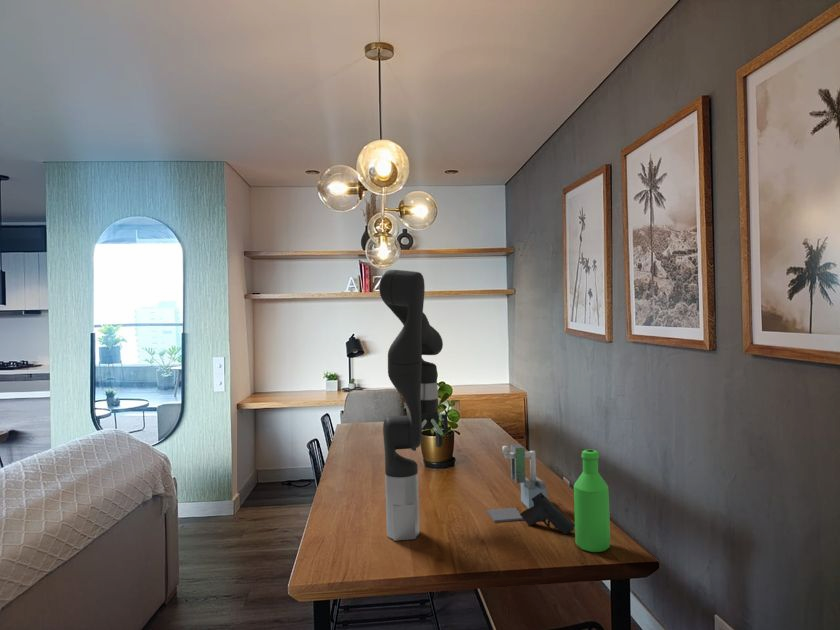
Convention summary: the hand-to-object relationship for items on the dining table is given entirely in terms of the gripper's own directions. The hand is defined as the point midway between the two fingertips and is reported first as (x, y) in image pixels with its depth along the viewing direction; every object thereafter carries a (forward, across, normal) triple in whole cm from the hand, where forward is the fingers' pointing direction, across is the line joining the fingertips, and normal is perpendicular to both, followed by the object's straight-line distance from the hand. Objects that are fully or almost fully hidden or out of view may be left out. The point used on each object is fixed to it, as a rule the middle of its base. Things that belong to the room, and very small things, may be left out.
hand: (426, 448), depth 170 cm
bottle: (+19, +28, -43) cm, 54 cm away
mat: (+20, +20, -13) cm, 31 cm away
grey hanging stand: (+20, +31, -8) cm, 37 cm away
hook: (+12, +29, -8) cm, 32 cm away
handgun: (+20, +25, -28) cm, 42 cm away
